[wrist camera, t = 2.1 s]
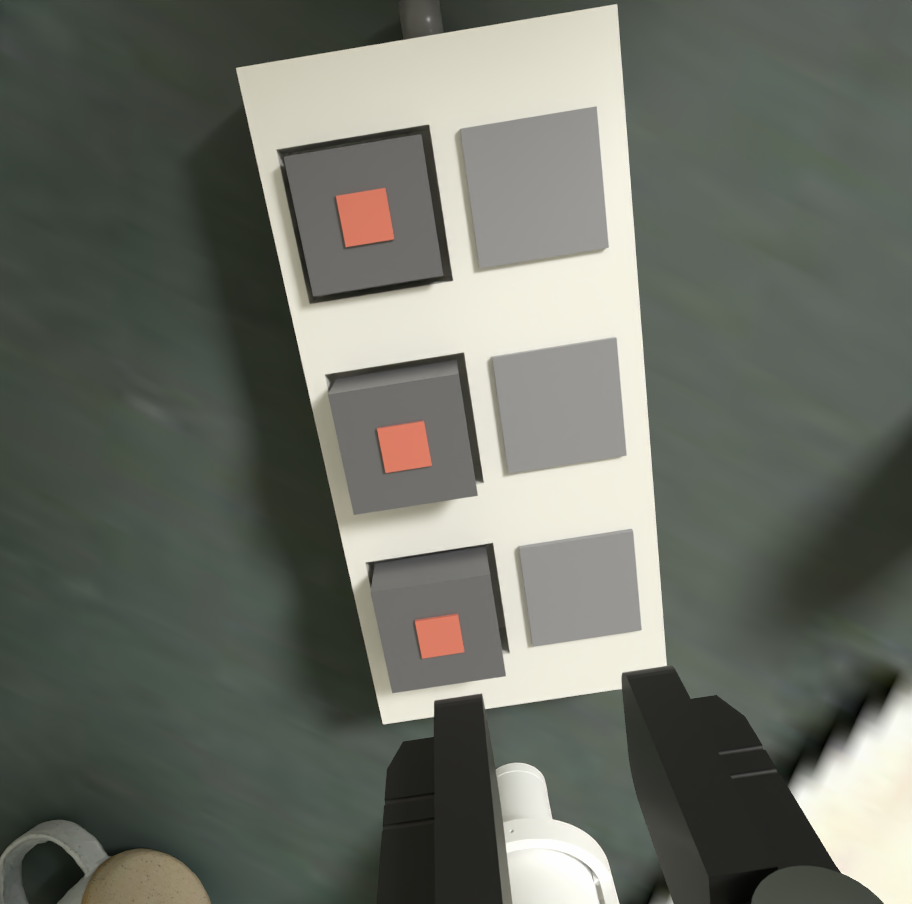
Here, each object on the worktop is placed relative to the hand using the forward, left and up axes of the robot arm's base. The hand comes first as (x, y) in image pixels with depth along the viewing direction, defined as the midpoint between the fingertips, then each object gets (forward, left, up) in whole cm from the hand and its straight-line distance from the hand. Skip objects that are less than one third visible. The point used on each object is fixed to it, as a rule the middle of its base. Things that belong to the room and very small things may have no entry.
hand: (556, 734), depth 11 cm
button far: (+8, -3, -18) cm, 19 cm away
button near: (-8, -3, -19) cm, 20 cm away
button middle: (0, -3, -18) cm, 18 cm away
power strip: (0, 0, -21) cm, 21 cm away
